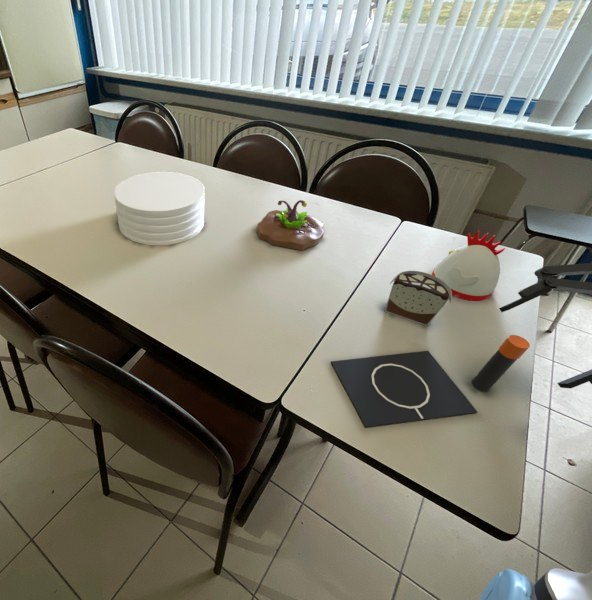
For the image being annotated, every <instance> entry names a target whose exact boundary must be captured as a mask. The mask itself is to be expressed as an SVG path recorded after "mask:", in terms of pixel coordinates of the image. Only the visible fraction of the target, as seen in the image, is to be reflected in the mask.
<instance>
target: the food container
mask: <svg viewBox="0 0 592 600" xmlns="http://www.w3.org/2000/svg"><path fill="white" fill-rule="evenodd" d="M391 284H392V287H391V289H390V293H389V296H388V299H387V302H386V306H385V308H384V312H385V313H388V314H390V315H394V316H396V317H400V318H403V319H405V320H407V321H410V322H414V323H415V324H416V323H417V324H419V325H423V326H425V327H428V326H429V324H430V323H431V322H432V321H433V320H434V319H435V317H436V316H437V315H438V313H439V312H440V311H441V310H442V309H443V307H444V306H445V305H446V304H447V303H448V301H449V304H451V302H452V300H453V296H452V291H451V289H450V287H449V286H448V285H447V284H446V283H445V282H444V281H442V280H441V279H439V278H437V277H435V276H433V275H432V273H429V272H428V273H427V272H424V271H419V270H405V271H402V272H399V273H398V274H397V275H395V276H394V277H393V278H392V280H391V281H390V282H389V285H391Z"/></svg>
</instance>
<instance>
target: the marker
mask: <svg viewBox="0 0 592 600" xmlns="http://www.w3.org/2000/svg"><path fill="white" fill-rule="evenodd" d="M530 347H531V344H530V342H529V341H528V340H527V339H525V338H524V337H523V336H520V335H517V334H510V335H508V336H507V337H506V339H504V341H503V342H502V343H501V344H500V346H499V347H498V349H497V350H496V351H495V353H494V354H493V355H492V356H491V358H489V360H488V361H487V362H486V363H485V364H484V366H483V367H482V368H481V370H479V371H478V373H477V374H476V375H475V376H474V378H473V379H472V380H471V385H472V387H473V388H474V389H475V390H477V391H478V392H479V391H480V392H482V393H487V392H488V391H489V390H490V389H491V388H492V387H493V386H494V385H495V384H496V383H497V382H498V381H499V380H500V379H501V378H502V377H503V375H505V373H506V372H507V371H508V370H509V369H510V368H511V367H512V366H513V364H515V362H517V360H519V359H520V358H521V357H522V356H523V355H524V354H525V352H526V351H527V350H529V348H530Z"/></svg>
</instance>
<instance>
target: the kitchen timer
mask: <svg viewBox="0 0 592 600" xmlns="http://www.w3.org/2000/svg"><path fill="white" fill-rule="evenodd" d="M496 235H497V234H494V235H493V236H492V237H490V239H488V241H487V238H488V236H489V232H487V233H486V234H484V235H483V236H482V237H481V238H479V237H480V229H478V230H477V231H476V233H475V234H474V236H472V234H471V232H468V233H467V239H466V240H467V244H465V245H462V246H459V247H457V248H456V249H453V250H450V251H448V253H447V255H446V256H444V257H443V259H441V261H439V263H438V264H437V265H436V266H435V268H434V269H433V270H432V272H431V275H433V276H435V277H437V278H439V279H441V280H442V281H444V282H445V283H446V284H447V285H448V286H449V287H450V289H451V291H452V297H454V298H456V299H460V300H464V301H468V302H469V301H470V302H480V301H485V300H487V299H489V298H490V297H491V296H492V294H493V293H494V292H495V290H496V288H497V285H498V283H499V279H500V275H501V263H500V259H499V254H501V253H503V252H504V251H505V249H506V248H505V247H503V248H501V249H499V250H496V248H497V247H498V246H500V245H501V243H502V241H498V242H496V243H494V241H495V239H496Z"/></svg>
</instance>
